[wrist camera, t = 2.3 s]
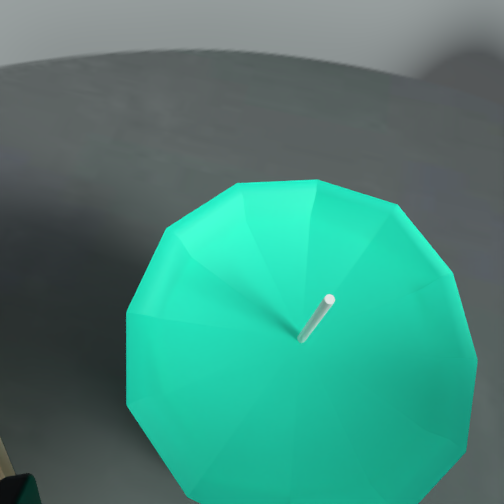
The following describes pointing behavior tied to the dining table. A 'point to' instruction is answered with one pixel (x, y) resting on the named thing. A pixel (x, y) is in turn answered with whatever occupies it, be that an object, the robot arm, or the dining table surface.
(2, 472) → the dock
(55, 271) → the dining table surface
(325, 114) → the dining table surface
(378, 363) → the candle
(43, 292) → the dining table surface
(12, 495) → the robot arm
